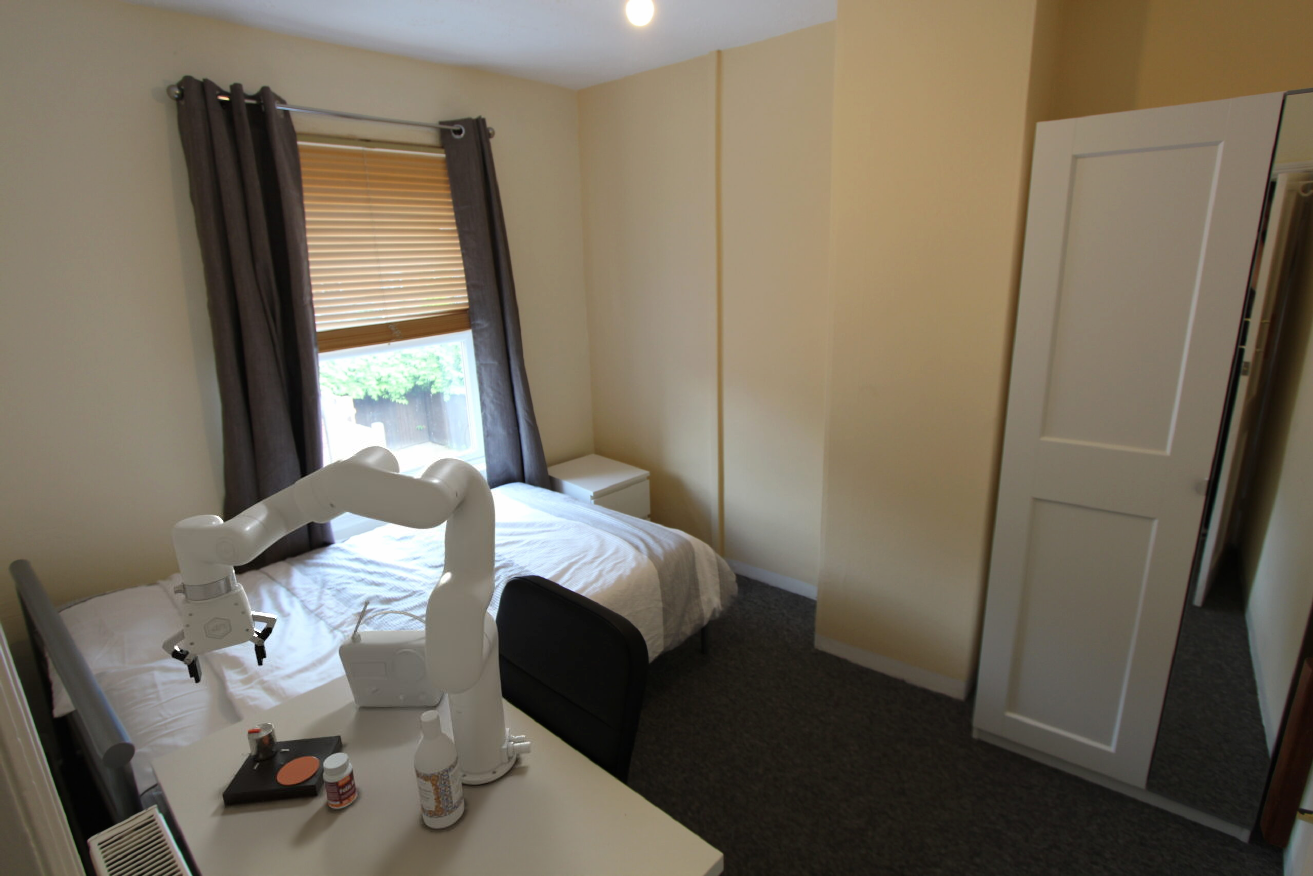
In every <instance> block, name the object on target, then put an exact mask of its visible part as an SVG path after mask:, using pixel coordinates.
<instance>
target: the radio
mask: <svg viewBox="0 0 1313 876" xmlns="http://www.w3.org/2000/svg"><path fill="white" fill-rule="evenodd" d="M370 602H371V600H370V599H366V600H365V601H364V606H363V608H362V610H361V613H360V615H359V618H358V620H357V623H356V624H355V627H354V629H353V631H352V632H351V633H350V634H349V635H348V636H347V638H345V640H344V641H343V642H342V643H341V644H340V645H339V647H338V656H339V659H340V662H341V665H342V667H343V670H344V673H345V676H346V679H347V682H348V685H349V687H350V690H351V693H352V696H353V700H354V702H355V704H356V706H358V707H360V708H400V707H401V708H405V707H406V708H408V707H409V708H412V707H415V708H416V707H418V708H419V707H421V708H422V707H435V706H438V704H439V702H440V700H441V699H442V697H443V695H444V694H445V693H444V692H442V691H440V690H438V689H437V688H436V687H435V686H434V685H433V684H432V683H431V681H430V680H429V678H428V675H427V672H426V667H425V629H398V630H397V629H395V630H392V629H389V630H387V629H386V630H359V627H360V626H361V625H362V624H364V622H366V621H367V620H369V619H371V618H374V617H376V616H380V615H386V614H395V615H396V614H397V615H403V616H406V617H410V618H413V619H416V620H417V621H419V622H421V623H422V624H423V625H425V619H423V618H422V617H420V616H419V615H417V614H413V613H411V612H407V611H403V610H384V611H378V612H376V613H374V614H371V615H369V616H368V617H366V618H365V619H364V620H363V617H364V616H365V613H366V610H367V608H368V606H369V605H370Z"/></svg>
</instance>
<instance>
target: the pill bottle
mask: <svg viewBox="0 0 1313 876" xmlns="http://www.w3.org/2000/svg"><path fill="white" fill-rule="evenodd" d="M323 767H324V774H323V779H324V784H323V785H324V790H325V794H326V799H327V804H328V806H329V807H330V808H332V809H334V810H340V809H344V808H346V807H348V806H350V805H351V804H352V803H353V802H354V801H355V800H356V799H357V796H358V792H357V786H356V785H357V784H356V780H355V774H354V769H353V765H352V763H350V759H349V755H348V754H347V753H345V752H339V753H336V754H333V755H331V756H329V757H328V758H327V759H326V760H325V761H324V763H323Z"/></svg>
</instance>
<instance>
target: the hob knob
mask: <svg viewBox="0 0 1313 876" xmlns="http://www.w3.org/2000/svg"><path fill="white" fill-rule="evenodd" d="M246 737H247V742H248V746H249V748H250V753H251V754H252V758H253V759H254V760H256V761H261V760H265V759H268V758H270V757H272V756H273V755H274V754H275V753H276V752H277V751H278V744H277V742H278V740H277V735H276V731H275V726H274V725H273V724H272V723H270V722H265V723H260V724H258V725H255V726H254V727H252V728H250V729H248V730H247V735H246Z"/></svg>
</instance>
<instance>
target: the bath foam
mask: <svg viewBox="0 0 1313 876" xmlns="http://www.w3.org/2000/svg"><path fill="white" fill-rule="evenodd" d="M420 726H421V732H422V736H421V737H420V740H419V742H418V744H417V745H416V748H415V751H414V756H413V758H414V759H413V763H414V771H415V777H416V778H415V779H416V783H417V791H418V797H419V803H420V808H421V815H422V819H423V822H424V824H425V825H426V826H428V827H429V828H432V829H439V830H440V829H444V828H447V827H450V826H452V825H454V824H455V823H456V822H457V821H459V819H460V818H461V817H462V816H463V814H464V811H465V800H464V791H463V783H461V776H460V769H459V762H458V755H457V750H456V747H455V742H454V740H453V739H452V738H451V737H450V736H449V735H448V734H447V733H446V732H444V731H443V730H442V725H441V719H440V713H439V712H438V711H437V710H434V709H433V710H428V711H425V712H424V713H423V714H421V716H420Z"/></svg>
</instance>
